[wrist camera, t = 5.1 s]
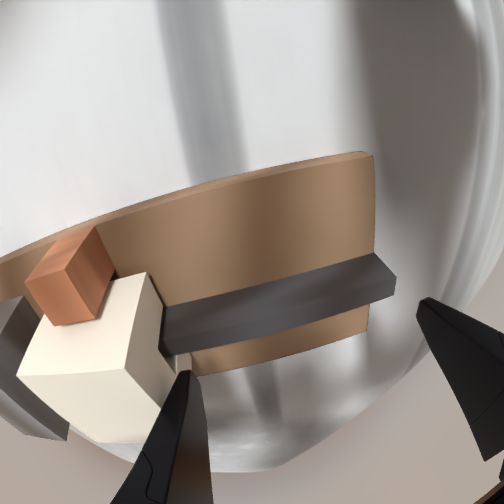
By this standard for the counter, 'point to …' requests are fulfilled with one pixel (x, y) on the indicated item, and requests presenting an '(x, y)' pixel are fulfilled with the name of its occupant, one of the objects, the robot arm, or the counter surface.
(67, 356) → the sleeve
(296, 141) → the counter surface
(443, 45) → the counter surface
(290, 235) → the board
